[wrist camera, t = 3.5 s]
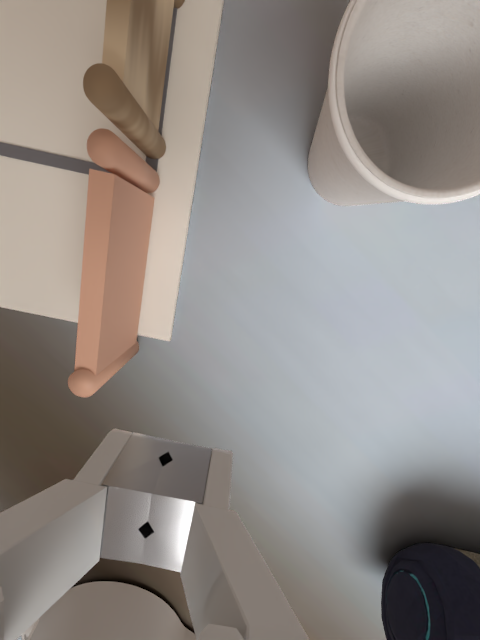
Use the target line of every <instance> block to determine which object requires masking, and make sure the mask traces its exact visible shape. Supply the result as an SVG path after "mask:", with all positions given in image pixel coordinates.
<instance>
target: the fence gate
mask: <svg viewBox="0 0 480 640" xmlns="http://www.w3.org/2000/svg"><path fill="white" fill-rule="evenodd" d="M87 152H88V155H89V157H90V158H91V160H92V161H93V162H94V163H95V164H97V165H99V166H100V167H102V168H104V169H105V170H107V171H109V172H110V173H107V172H103V171H98V170H93V169H89V180H88V193H87V207H86V220H85V234H84V248H83V261H82V275H81V288H80V302H79V316H78V329H77V343H76V356H75V370H74V372H73V373H72V374H71V375H70V376H69V379H68V386H69V388H70V390H71V391H72V392H73V393H74V394H75V395H77V396H79V397H89V396H91V395H93V394H94V393H95V392H96V391H97V390H98V389H99V388H100V387H101V386H102V385H104V384H105V383H106V382H107V381H108V380H109V379H110V378H111V377H112V376H113V375H114V374H115V373H116V372H117V371H119V370H120V369H121V368H122V367H123V366H124V365H125V364H126V363H127V362H128V361H129V360H130V359H131V358H132V357H133V356H135V355H136V354H137V352H138V351H139V344H138V342H137V333H138V326H139V318H140V310H141V302H142V294H143V286H144V278H145V270H146V262H147V254H148V247H149V239H150V231H151V223H152V215H153V207H154V199H155V198H154V197H152V196H151V195H149V194H147V193H152V192H154V191H156V190H157V188H158V187H159V183H160V179H159V175H158V173H157V172H156V171H155V170H154V169H153V168H152V167H151V166H150V165H149V164H147V163H146V162H145V161H144V160H143V159H142V158H141V157H140V156H139V155H138V154H136V153H135V152H134V151H133V150H132V149H131V148H130V147H129V146H128V145H126V144H125V143H124V142H123V141H122V140H121V139H120V138H119V137H118V136H117V135H115V134H114V133H113V132H112V131H110V130H108V129H104V128H100V129H96V130H95V131H93V132H92V133H91V134H90V135H89V137H88V140H87Z"/></svg>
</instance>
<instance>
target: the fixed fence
mask: <svg viewBox="0 0 480 640" xmlns="http://www.w3.org/2000/svg"><path fill="white" fill-rule="evenodd" d="M184 1H185V0H107V4H106V17H105V30H104V43H103V56H102V63H98V64H94V65H92V66H91V67H89V68H88V69H87V71H86V72H85V75H84V78H83V89H84V92H85V95H86V96H87V98H88V99H89V101H90V102H91V103H92V104H93V105H94V106H95V107H96V108H97V109H98V110H100V111H101V112H102V113H103V114H104V115H105V116H106V117H107V118H108V119H109V120H110V121H111V122H112V123H113V124H114V125H115V126H116V127H117V128H118V129H119V130H120V131H121V132H122V133H123V134H124V135H125V136H126V137H127V138H128V139H129V140H130V141H131V142H132V143H133V144H135V145H136V146H137V147H138V148H139V149H140V150H141V151H142V152H143V153H144V154H145V155H146V156H147V157H148V158H151V159H160V158H161V157H162V156H163V155H164V154H165V151H166V143H165V140H164V139H163V137H162V136H161V134H160V133H159V132H158V129H159V121H160V113H161V105H162V97H163V89H164V80H165V72H166V64H167V56H168V48H169V40H170V32H171V23H172V15H173V8H177V9H178V8H180V7H181V6H182V5H183V3H184Z"/></svg>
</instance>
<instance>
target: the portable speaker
mask: <svg viewBox="0 0 480 640" xmlns="http://www.w3.org/2000/svg"><path fill="white" fill-rule="evenodd" d="M381 607H382V621H383V626H384V630H385V635H386V638H387V640H480V554H477V553H473V552H469V551H465V550H460V549H456V548H452V547H449V546H444V545H439V544H433V543H420V544H414V545H412V546H410V547H407V548H405V549H403V550H401V551H399V552H397V554H396V555H395V556H394V557H393V558H392V559H391V561H390V562H389V565H388V568H387V570H386V573H385V576H384V578H383V582H382V600H381Z"/></svg>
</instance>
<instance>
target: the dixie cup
mask: <svg viewBox="0 0 480 640" xmlns="http://www.w3.org/2000/svg"><path fill="white" fill-rule="evenodd" d="M308 174H309V178H310V181H311V183H312V185H313V187H314V189H315V190H316V192H317V193H318V194H319V195H320V196H321V197H322V198H323V199H324V200H326V201H328V202H329V203H332V204H334V205H338V206H356V205H368V204H380V203H392V202H403V201H406V202H411V203H416V204H427V205H436V204H447V203H453V202H458V201H462V200H465V199H468V198H471V197H474V196H477V195H479V194H480V0H350V2H349V4H348V6H347V8H346V10H345V12H344V15H343V17H342V19H341V22H340V25H339V27H338V30H337V33H336V37H335V40H334V44H333V48H332V53H331V59H330V66H329V76H328V88H327V91H326V95H325V98H324V102H323V105H322V109H321V112H320V116H319V119H318V123H317V127H316V130H315V134H314V137H313V141H312V144H311V148H310V151H309V156H308Z"/></svg>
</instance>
